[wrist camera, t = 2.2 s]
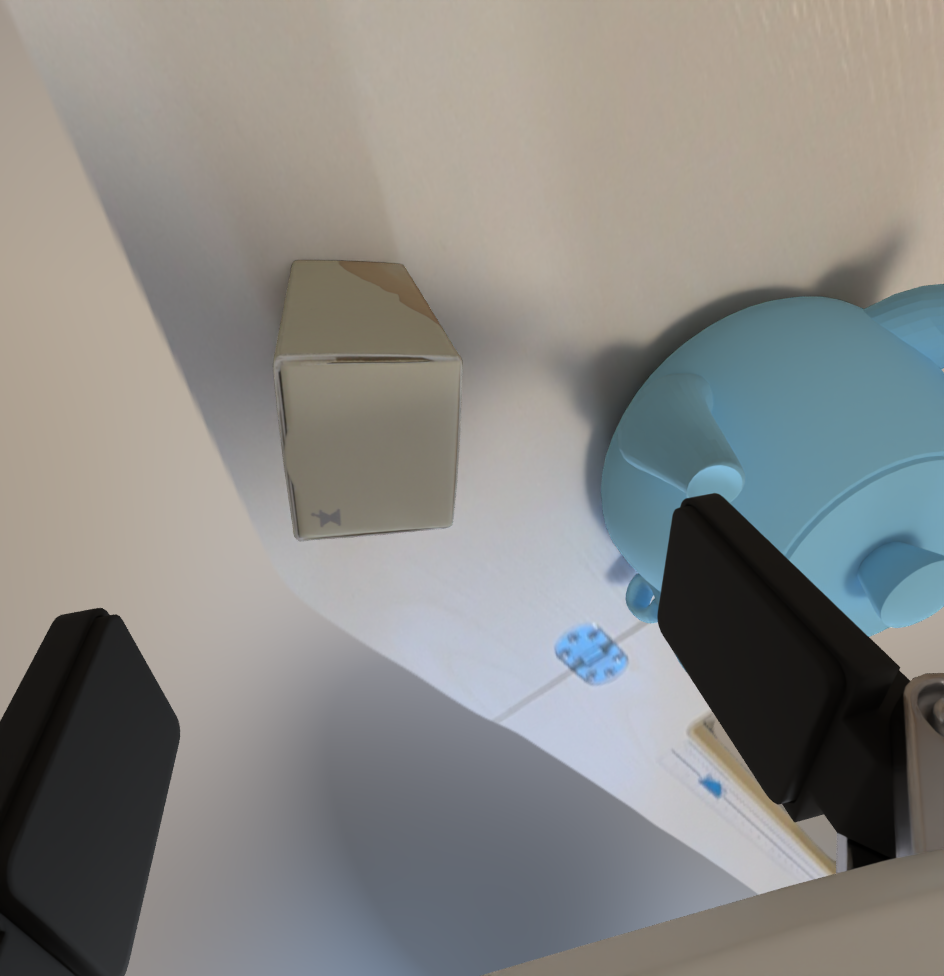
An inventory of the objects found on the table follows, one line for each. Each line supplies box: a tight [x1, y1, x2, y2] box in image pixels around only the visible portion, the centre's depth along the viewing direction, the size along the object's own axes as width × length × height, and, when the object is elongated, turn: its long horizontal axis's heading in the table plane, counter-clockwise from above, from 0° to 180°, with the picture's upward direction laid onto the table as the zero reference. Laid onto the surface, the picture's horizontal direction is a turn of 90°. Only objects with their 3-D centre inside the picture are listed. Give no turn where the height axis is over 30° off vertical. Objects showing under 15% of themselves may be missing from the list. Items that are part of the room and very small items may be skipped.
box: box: [273, 260, 463, 541], centre depth 19 cm, size 5×4×11 cm
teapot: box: [601, 284, 944, 671], centre depth 26 cm, size 17×19×12 cm
